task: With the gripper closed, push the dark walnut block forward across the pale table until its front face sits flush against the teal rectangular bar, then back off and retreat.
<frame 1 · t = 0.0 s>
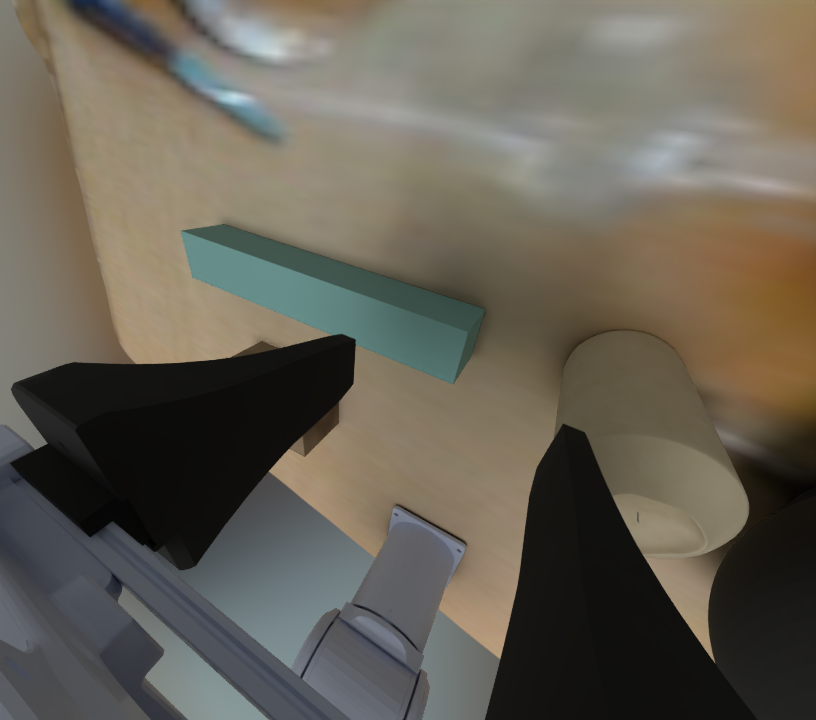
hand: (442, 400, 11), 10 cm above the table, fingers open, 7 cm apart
teal rectangular bar: (335, 284, 23), on the table
block: (301, 381, 31), on the table
candle: (618, 373, 18), on the table
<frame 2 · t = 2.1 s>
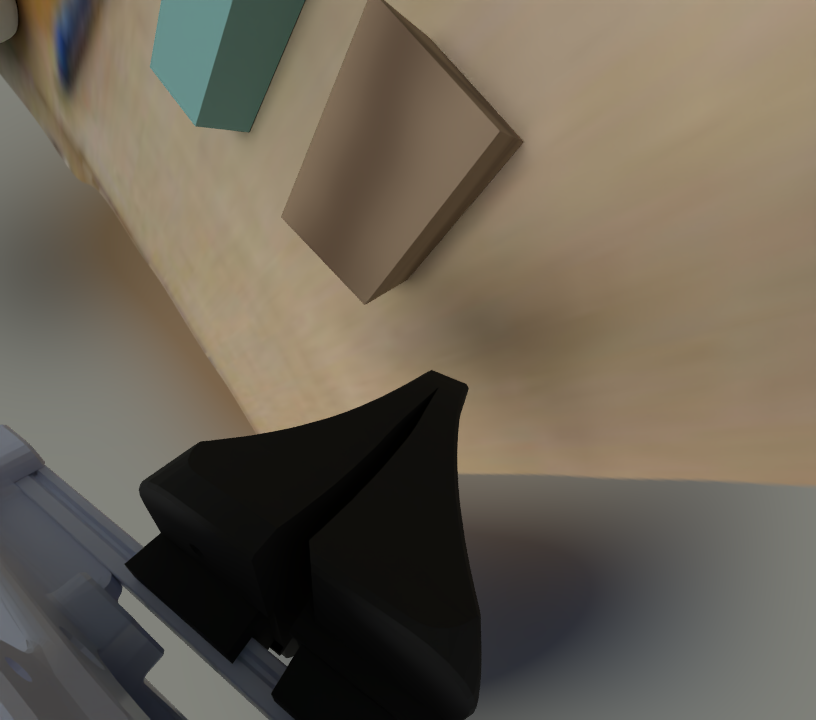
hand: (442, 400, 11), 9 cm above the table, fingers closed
block: (418, 180, 17), on the table
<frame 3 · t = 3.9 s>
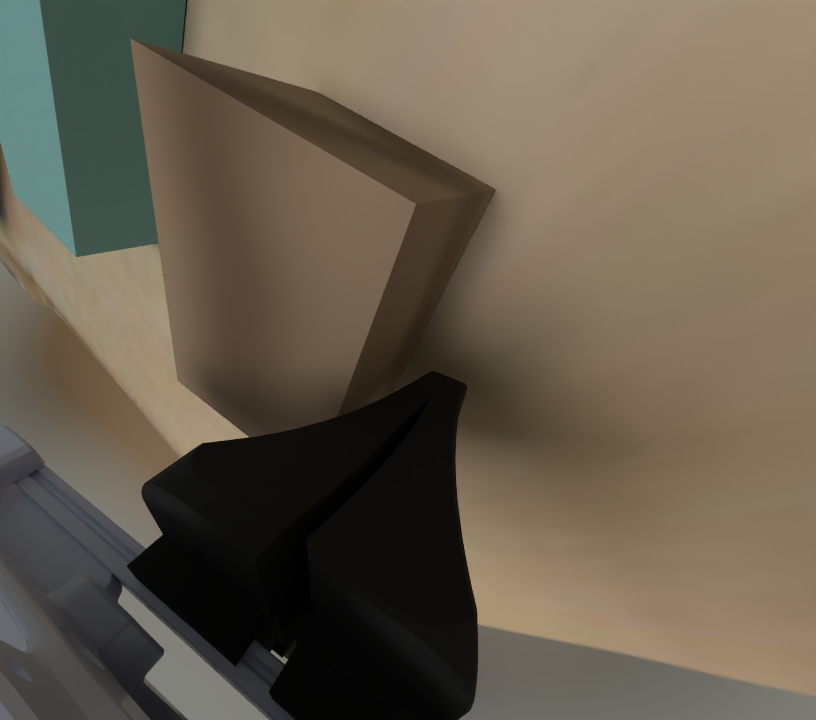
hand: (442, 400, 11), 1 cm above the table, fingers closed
block: (361, 277, 12), on the table, touching gripper
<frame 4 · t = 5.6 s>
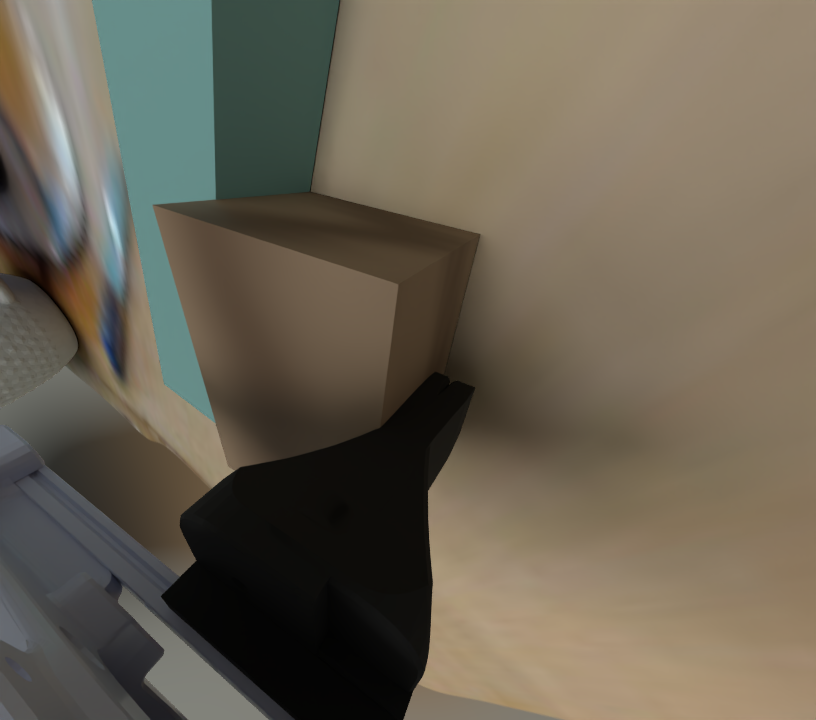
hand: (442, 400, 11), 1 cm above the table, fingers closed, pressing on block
teal rectangular bar: (272, 134, 10), on the table
block: (375, 335, 12), on the table, touching teal rectangular bar, gripper
mug 2: (53, 308, 27), on the table
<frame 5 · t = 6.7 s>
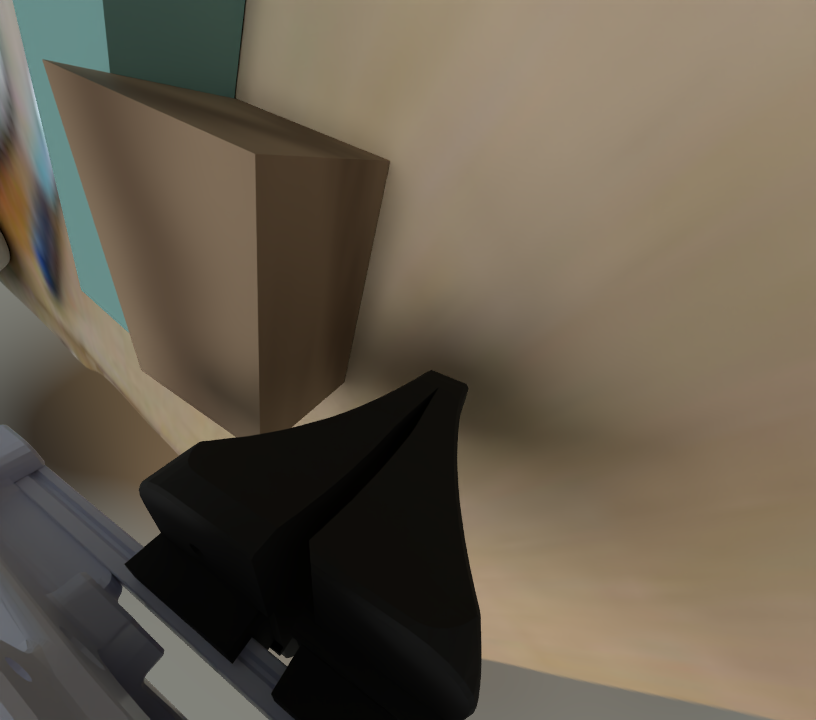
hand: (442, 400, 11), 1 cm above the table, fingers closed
teal rectangular bar: (197, 27, 10), on the table
block: (302, 262, 13), on the table
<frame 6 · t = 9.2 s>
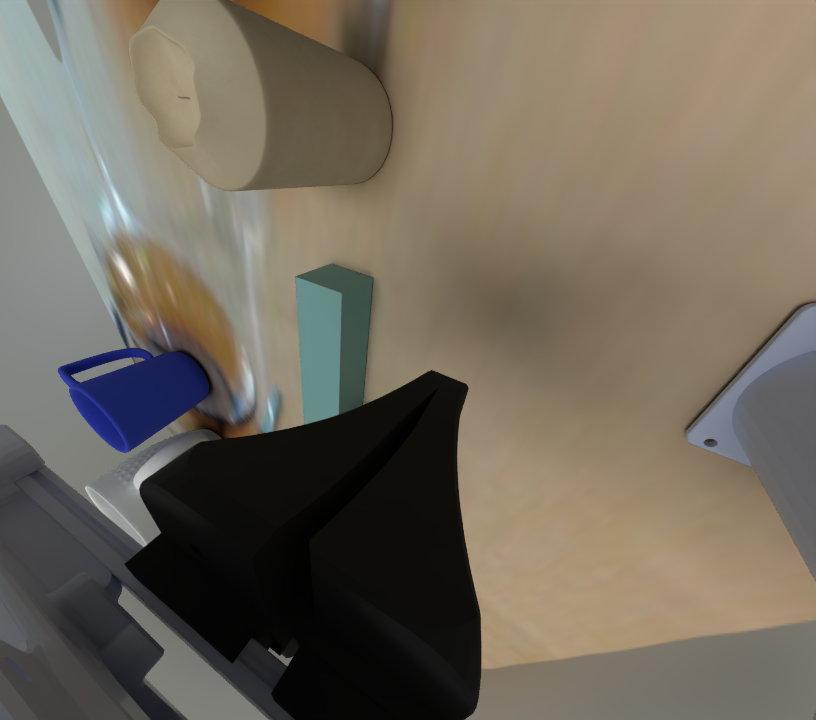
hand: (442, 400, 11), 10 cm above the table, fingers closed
teal rectangular bar: (346, 391, 28), on the table
mug: (184, 363, 40), on the table
mug 2: (220, 442, 47), on the table
candle: (352, 127, 18), on the table
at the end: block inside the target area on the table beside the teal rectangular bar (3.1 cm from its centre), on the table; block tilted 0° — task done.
